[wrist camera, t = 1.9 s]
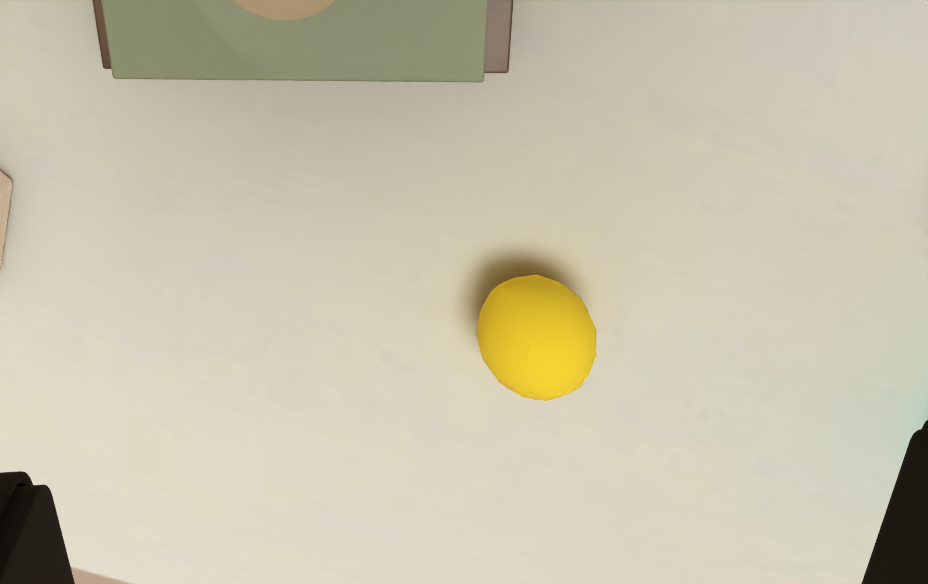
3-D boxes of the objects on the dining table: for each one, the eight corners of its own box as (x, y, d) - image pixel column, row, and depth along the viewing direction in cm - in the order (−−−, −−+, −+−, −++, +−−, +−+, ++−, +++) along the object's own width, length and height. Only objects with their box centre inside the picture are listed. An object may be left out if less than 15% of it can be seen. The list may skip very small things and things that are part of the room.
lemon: (443, 289, 42) (455, 351, 38) (537, 228, 41) (562, 283, 37) (519, 383, 46) (539, 450, 41) (609, 328, 45) (640, 391, 40)
